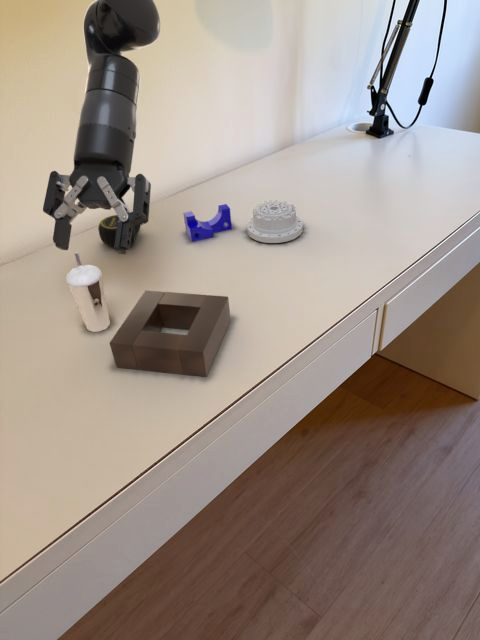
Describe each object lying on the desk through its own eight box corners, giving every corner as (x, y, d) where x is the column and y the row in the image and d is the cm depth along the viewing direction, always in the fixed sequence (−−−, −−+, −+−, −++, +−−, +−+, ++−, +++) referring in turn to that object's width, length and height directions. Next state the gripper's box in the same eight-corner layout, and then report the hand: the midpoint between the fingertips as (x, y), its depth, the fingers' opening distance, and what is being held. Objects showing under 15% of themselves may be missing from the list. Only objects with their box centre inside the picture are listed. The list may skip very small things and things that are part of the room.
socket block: (116, 367, 67) (109, 342, 64) (150, 313, 76) (145, 290, 73) (206, 377, 65) (202, 352, 62) (230, 320, 74) (228, 296, 71)
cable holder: (191, 241, 93) (188, 220, 90) (186, 233, 95) (183, 212, 93) (234, 232, 95) (232, 211, 92) (228, 224, 97) (226, 204, 95)
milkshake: (110, 310, 77) (93, 248, 71) (117, 329, 73) (100, 266, 67) (78, 318, 76) (58, 256, 69) (84, 338, 72) (64, 275, 66)
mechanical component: (251, 247, 90) (308, 241, 91) (249, 224, 87) (308, 217, 88) (243, 222, 98) (296, 216, 98) (242, 200, 95) (296, 194, 96)
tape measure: (135, 250, 91) (130, 230, 89) (96, 250, 92) (91, 230, 89) (144, 231, 96) (140, 212, 94) (108, 232, 97) (103, 213, 95)
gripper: (43, 120, 70) (25, 239, 68) (144, 121, 67) (127, 245, 66) (73, 147, 77) (57, 255, 76) (165, 149, 74) (150, 261, 73)
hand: (90, 250), depth 71 cm, fingers open, 8 cm apart
